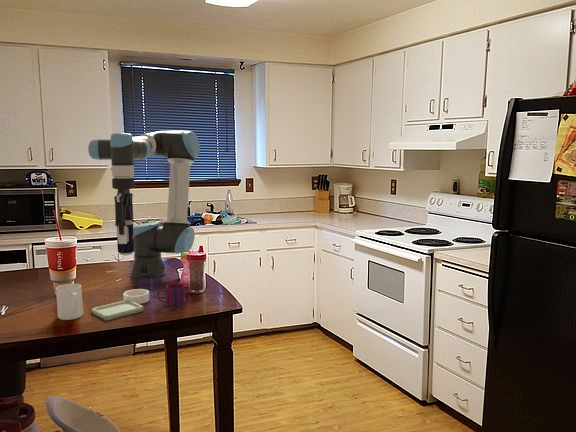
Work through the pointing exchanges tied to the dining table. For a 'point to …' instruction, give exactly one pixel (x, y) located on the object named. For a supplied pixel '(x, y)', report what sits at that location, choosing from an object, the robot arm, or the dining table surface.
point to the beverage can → (129, 247)
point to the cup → (174, 294)
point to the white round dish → (137, 295)
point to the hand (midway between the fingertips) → (125, 241)
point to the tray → (117, 309)
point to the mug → (69, 301)
